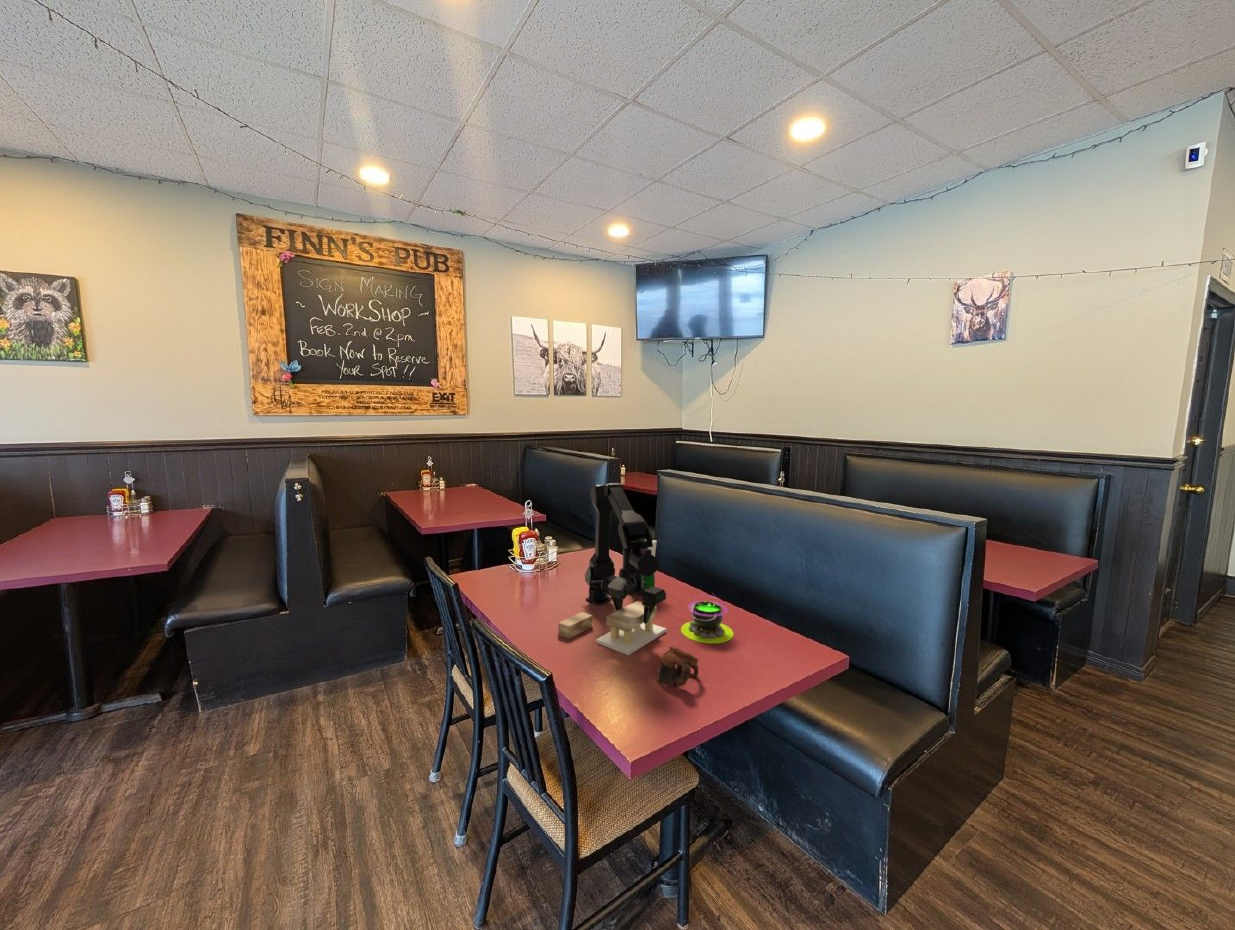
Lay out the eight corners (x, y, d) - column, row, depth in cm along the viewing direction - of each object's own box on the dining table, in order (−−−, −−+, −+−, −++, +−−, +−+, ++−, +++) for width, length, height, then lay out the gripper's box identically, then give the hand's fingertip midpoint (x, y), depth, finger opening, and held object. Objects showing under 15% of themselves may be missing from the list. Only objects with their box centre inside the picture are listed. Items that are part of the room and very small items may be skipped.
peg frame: (635, 621, 152) (635, 605, 151) (666, 631, 145) (666, 615, 145) (596, 642, 138) (596, 625, 137) (628, 655, 131) (628, 636, 130)
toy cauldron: (671, 625, 150) (672, 589, 149) (715, 618, 155) (716, 583, 154) (697, 647, 136) (698, 608, 135) (744, 639, 141) (745, 601, 140)
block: (582, 623, 150) (582, 611, 150) (592, 626, 148) (592, 615, 148) (558, 634, 143) (558, 622, 142) (568, 638, 140) (568, 626, 140)
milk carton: (624, 592, 176) (624, 536, 174) (637, 584, 183) (638, 530, 181) (646, 597, 171) (647, 540, 169) (658, 589, 179) (659, 534, 177)
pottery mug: (648, 674, 123) (661, 641, 125) (682, 688, 124) (694, 655, 126) (665, 687, 111) (679, 651, 113) (702, 703, 113) (715, 667, 115)
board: (636, 609, 148) (636, 601, 148) (656, 615, 144) (656, 607, 144) (606, 624, 138) (606, 616, 137) (626, 632, 133) (626, 623, 133)
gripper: (588, 565, 139) (588, 619, 140) (643, 579, 127) (642, 639, 129) (613, 555, 147) (613, 607, 149) (667, 569, 136) (666, 624, 138)
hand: (632, 619), depth 141 cm, fingers open, 9 cm apart
